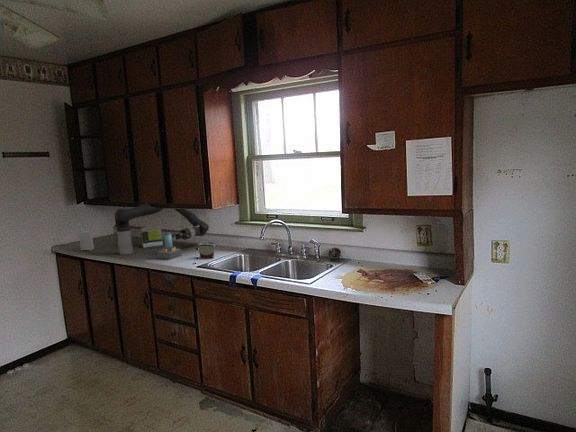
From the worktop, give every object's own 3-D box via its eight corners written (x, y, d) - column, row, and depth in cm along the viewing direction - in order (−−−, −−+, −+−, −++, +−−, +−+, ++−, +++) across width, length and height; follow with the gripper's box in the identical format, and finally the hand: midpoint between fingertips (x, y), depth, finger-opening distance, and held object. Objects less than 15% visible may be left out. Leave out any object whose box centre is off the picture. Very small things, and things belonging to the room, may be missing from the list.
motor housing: (157, 258, 270) (156, 249, 270) (170, 254, 281) (169, 245, 280) (169, 259, 265) (168, 250, 264) (181, 255, 276) (181, 246, 275)
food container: (219, 256, 268) (217, 242, 266) (215, 258, 262) (213, 244, 261) (202, 256, 271) (201, 242, 270) (198, 258, 265) (197, 243, 264)
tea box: (161, 243, 323) (159, 225, 321) (163, 245, 314) (161, 227, 312) (142, 245, 317) (140, 227, 315) (143, 248, 308) (141, 229, 306)
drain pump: (164, 250, 271) (162, 233, 270) (169, 248, 276) (167, 232, 274) (169, 251, 269) (167, 233, 267) (174, 249, 273) (172, 232, 272)
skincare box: (94, 248, 314) (92, 230, 312) (91, 250, 308) (89, 232, 306) (83, 249, 313) (80, 231, 310) (80, 251, 307) (77, 232, 305)
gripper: (180, 228, 291) (163, 232, 277) (194, 228, 284) (178, 233, 270) (181, 238, 292) (164, 242, 278) (195, 239, 285) (179, 243, 271)
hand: (171, 237), depth 274 cm, fingers open, 8 cm apart
